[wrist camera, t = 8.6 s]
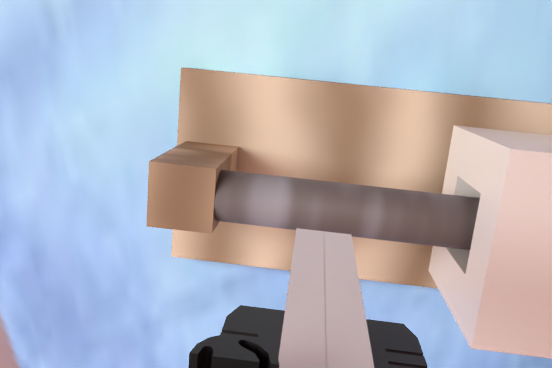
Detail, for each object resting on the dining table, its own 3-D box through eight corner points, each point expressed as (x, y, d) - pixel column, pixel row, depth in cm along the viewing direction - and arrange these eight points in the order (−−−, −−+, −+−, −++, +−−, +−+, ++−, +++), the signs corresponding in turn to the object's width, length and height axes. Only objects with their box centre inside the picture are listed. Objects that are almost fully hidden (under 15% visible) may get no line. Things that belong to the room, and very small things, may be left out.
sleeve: (428, 270, 28) (471, 348, 20) (453, 125, 26) (511, 149, 18) (559, 286, 28) (654, 371, 20) (594, 139, 26) (713, 170, 18)
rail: (177, 249, 32) (132, 306, 24) (186, 67, 29) (140, 67, 22) (680, 309, 30) (803, 391, 22) (736, 121, 27) (896, 142, 20)
